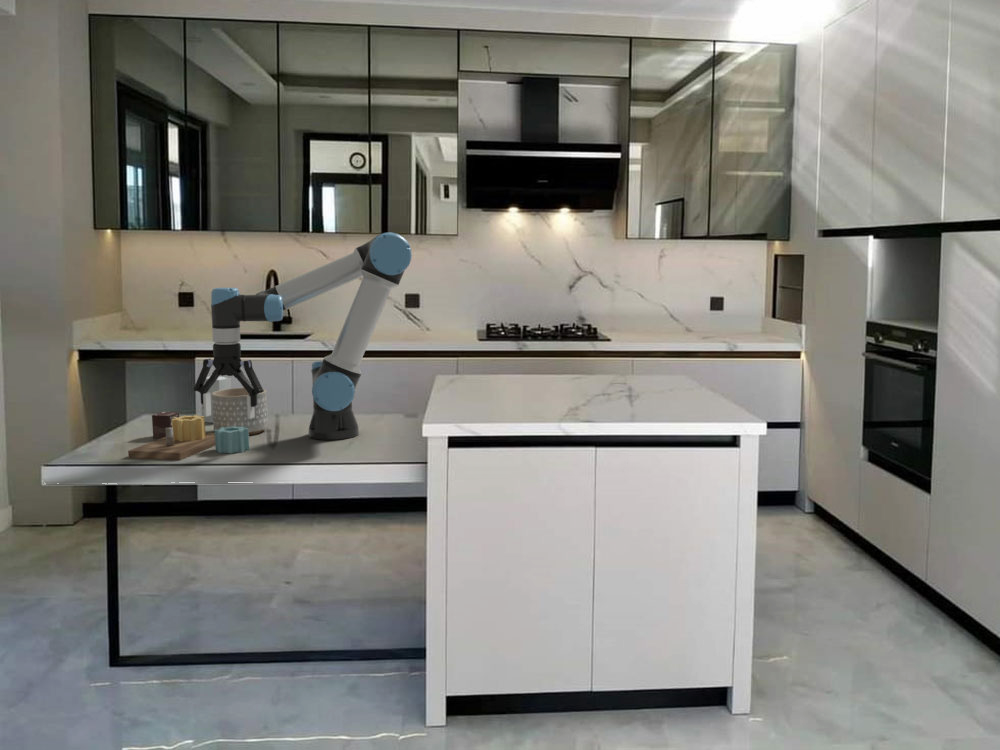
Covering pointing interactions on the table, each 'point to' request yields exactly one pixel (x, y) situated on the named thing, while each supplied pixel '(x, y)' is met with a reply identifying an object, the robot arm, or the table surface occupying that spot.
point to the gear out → (188, 428)
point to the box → (162, 423)
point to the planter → (238, 410)
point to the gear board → (172, 447)
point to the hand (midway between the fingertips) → (229, 417)
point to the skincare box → (218, 385)
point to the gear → (232, 439)
